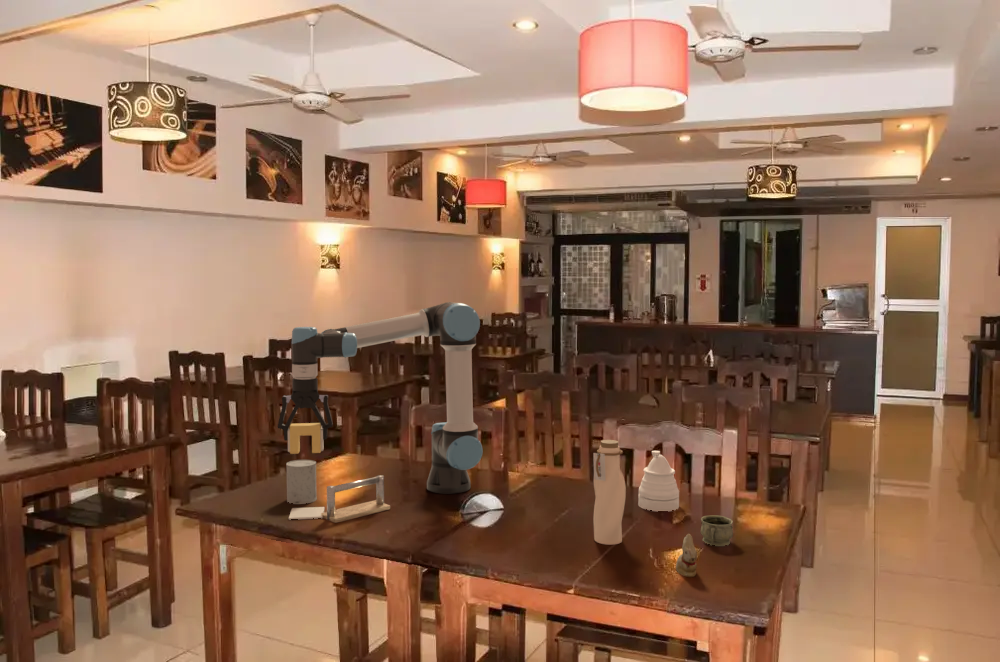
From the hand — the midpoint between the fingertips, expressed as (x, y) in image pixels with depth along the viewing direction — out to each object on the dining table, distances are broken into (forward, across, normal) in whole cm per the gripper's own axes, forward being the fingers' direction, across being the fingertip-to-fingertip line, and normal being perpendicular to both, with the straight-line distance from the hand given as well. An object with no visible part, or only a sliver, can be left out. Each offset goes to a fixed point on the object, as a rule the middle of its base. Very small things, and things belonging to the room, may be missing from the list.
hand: (305, 450), depth 243 cm
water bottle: (+20, +85, -37) cm, 95 cm away
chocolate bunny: (+20, +98, -62) cm, 118 cm away
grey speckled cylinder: (+20, -3, +16) cm, 26 cm away
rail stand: (+20, +15, -1) cm, 25 cm away
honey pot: (+20, +111, -7) cm, 113 cm away
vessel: (+20, +115, -42) cm, 124 cm away
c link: (0, 0, 0) cm, 0 cm away
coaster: (+20, 0, 0) cm, 20 cm away
